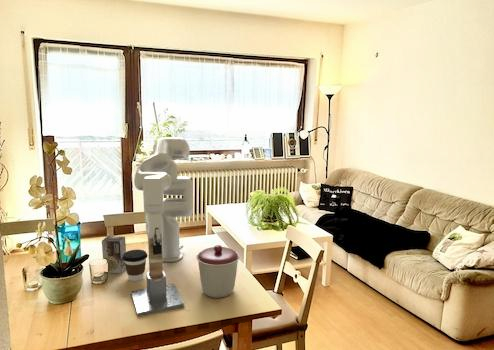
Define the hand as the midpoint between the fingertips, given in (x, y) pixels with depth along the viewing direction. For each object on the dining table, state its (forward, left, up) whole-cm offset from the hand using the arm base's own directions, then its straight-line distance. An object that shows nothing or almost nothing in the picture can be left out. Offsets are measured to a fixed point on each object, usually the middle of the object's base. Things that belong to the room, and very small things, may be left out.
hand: (155, 249), depth 152 cm
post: (0, 0, -12) cm, 12 cm away
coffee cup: (-13, -20, -22) cm, 33 cm away
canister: (-16, +20, -22) cm, 34 cm away
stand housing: (0, 0, -22) cm, 22 cm away
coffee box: (-16, -34, -22) cm, 44 cm away
